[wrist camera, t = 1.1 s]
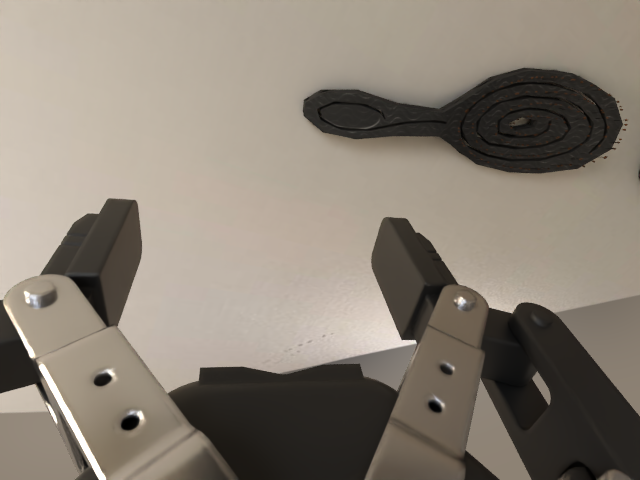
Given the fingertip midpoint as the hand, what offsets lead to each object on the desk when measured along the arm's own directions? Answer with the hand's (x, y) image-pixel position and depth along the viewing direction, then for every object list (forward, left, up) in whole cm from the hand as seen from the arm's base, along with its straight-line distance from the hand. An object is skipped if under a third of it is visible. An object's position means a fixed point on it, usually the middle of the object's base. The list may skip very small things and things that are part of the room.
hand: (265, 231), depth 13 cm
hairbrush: (0, +16, -18) cm, 24 cm away
